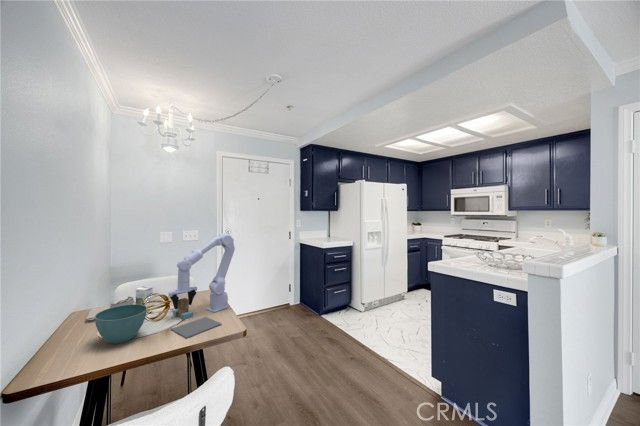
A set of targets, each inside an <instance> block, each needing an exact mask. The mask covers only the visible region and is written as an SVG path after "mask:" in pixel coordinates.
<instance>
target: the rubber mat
mask: <svg viewBox="0 0 640 426" xmlns="http://www.w3.org/2000/svg"><path fill="white" fill-rule="evenodd" d="M220 326H222V322H219V321H216V320H214V319H212V318H209V317H207V316H205V317H202V318H198V319H196V320H193V321H189V322H187V323H184V324H181V325H178V326H175V327H172V328H170V331H172V332H174V333H175V334H177V335H179V336H181V337H183V338H184V339H190V338H191V337H194V336H196V335H200V334H201V333H204V332H207V331H210V330H212V329H214V328H217V327H220Z"/></svg>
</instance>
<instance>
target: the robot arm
mask: <svg viewBox="0 0 640 426" xmlns="http://www.w3.org/2000/svg"><path fill="white" fill-rule="evenodd" d="M234 241H235V240H234V238H233V237H232V236H231V235H230V234H226V233H219V234H218V235H217V236H215V237H214V238H212V239H211V240H210V241H209V242H207V243H206V244H205V245H203V246H202V247H201V248H199V249H195V250H191V252H190V253H189V254H188V255H186V256H184V257H183V258H182V259H179V261H178V262H177V264H176V268H178V269H177V272H178V273H177V289H176V290H172V291H170V292H169V291H168V297H169V299H170V300H171V302H172V304H173V308H174V309H177V308H178V300H179V299H180V298H179V296H178V295H182V294H186V293H187V299H189V306H192V305H193V301H194V298H195V297H196V294H197V291H198V287H197V286H190V284H191V283H190V280H191V279H190V277H191V276H190V273H191V272H190V270H191V268H192V266H193V265H194V264H196V263H197V262H199V261H201V259H203V257H204V254H206V253H208V252H209V251H210V250H212V249H214V248H215V247H218V246H222V248H223V250H224V252H223V255H222V258H221V259H220V263H219V267H218V269H217V271H216V275H215V276H214V277H213V279H212V281H211V282H210V284H209V285H208V289H209V290H210V293H209V307H206V310H208V311H210V312H214V313H215V312H219V311H221V310H225V309H228V308H229V305H228V304H229V302H228V301H229V300H228V299H229V296H228V293H227V292H226V291H225V290H226V288H225V287H226V277H227V276H226V275H227V274H228V270H229V267H230V264H231V262H232V258H233V256H234V253H235V250H236V248H235V244H234V243H235V242H234Z"/></svg>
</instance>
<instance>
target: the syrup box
mask: <svg viewBox="0 0 640 426" xmlns="http://www.w3.org/2000/svg"><path fill="white" fill-rule="evenodd" d="M153 291H154V289H153V286H149V285H142V286H139V287H137V288H135V304H137V305H141V302H142V301H143V299H145V298H146V297H147V296H149V295H152V294H153V293H154V292H153ZM149 300H152V301H153V295H152V297H150V298H147V300H146V301H149Z"/></svg>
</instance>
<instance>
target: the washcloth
mask: <svg viewBox="0 0 640 426" xmlns="http://www.w3.org/2000/svg"><path fill="white" fill-rule="evenodd" d="M109 308H110V305H108V306H104V307H102V306H101V307H95V308H90V309H89V311H88V314H87V316H86V318H85V323H86V324H88V323H95V315H96V314H97V313H99V312H101V311H103V310H106V309H109Z"/></svg>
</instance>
